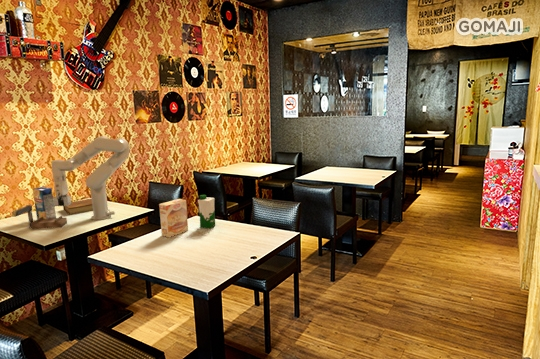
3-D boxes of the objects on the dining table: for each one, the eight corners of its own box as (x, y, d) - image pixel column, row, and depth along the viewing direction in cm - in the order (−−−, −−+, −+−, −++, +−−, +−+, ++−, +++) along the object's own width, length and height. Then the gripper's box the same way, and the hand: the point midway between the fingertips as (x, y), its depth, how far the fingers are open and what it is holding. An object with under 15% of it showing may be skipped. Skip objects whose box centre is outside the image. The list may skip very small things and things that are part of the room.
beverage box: (46, 222, 257) (41, 190, 253) (37, 220, 262) (32, 188, 258) (56, 219, 263) (51, 188, 259) (46, 217, 268) (42, 186, 264)
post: (36, 226, 249) (33, 209, 247) (33, 227, 245) (31, 211, 243) (30, 226, 249) (28, 210, 246) (27, 228, 245) (25, 211, 243)
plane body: (67, 223, 253) (66, 215, 252) (61, 227, 245) (60, 219, 243) (38, 224, 252) (37, 217, 250) (31, 229, 243) (30, 221, 242)
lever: (16, 216, 231) (15, 211, 230) (11, 216, 231) (10, 211, 230) (33, 209, 246) (32, 204, 245) (28, 209, 246) (27, 204, 246)
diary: (95, 204, 301) (94, 197, 300) (103, 209, 287) (102, 202, 286) (63, 210, 286) (62, 202, 285) (70, 215, 272) (69, 207, 271)
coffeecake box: (168, 237, 221) (166, 205, 217) (161, 235, 225) (158, 203, 221) (188, 230, 233) (186, 199, 229) (181, 228, 237) (178, 198, 233)
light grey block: (71, 203, 261) (70, 194, 259) (68, 205, 256) (67, 195, 255) (57, 204, 260) (56, 194, 259) (54, 206, 255) (53, 196, 254)
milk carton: (204, 223, 245) (203, 193, 241) (217, 224, 242) (215, 194, 238) (198, 228, 237) (196, 196, 233) (211, 229, 234) (209, 197, 230)
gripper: (60, 180, 246) (63, 207, 250) (70, 175, 263) (73, 201, 267) (47, 181, 246) (51, 208, 249) (59, 176, 262) (62, 201, 266)
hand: (63, 204), depth 258 cm, fingers closed on light grey block, 5 cm apart
